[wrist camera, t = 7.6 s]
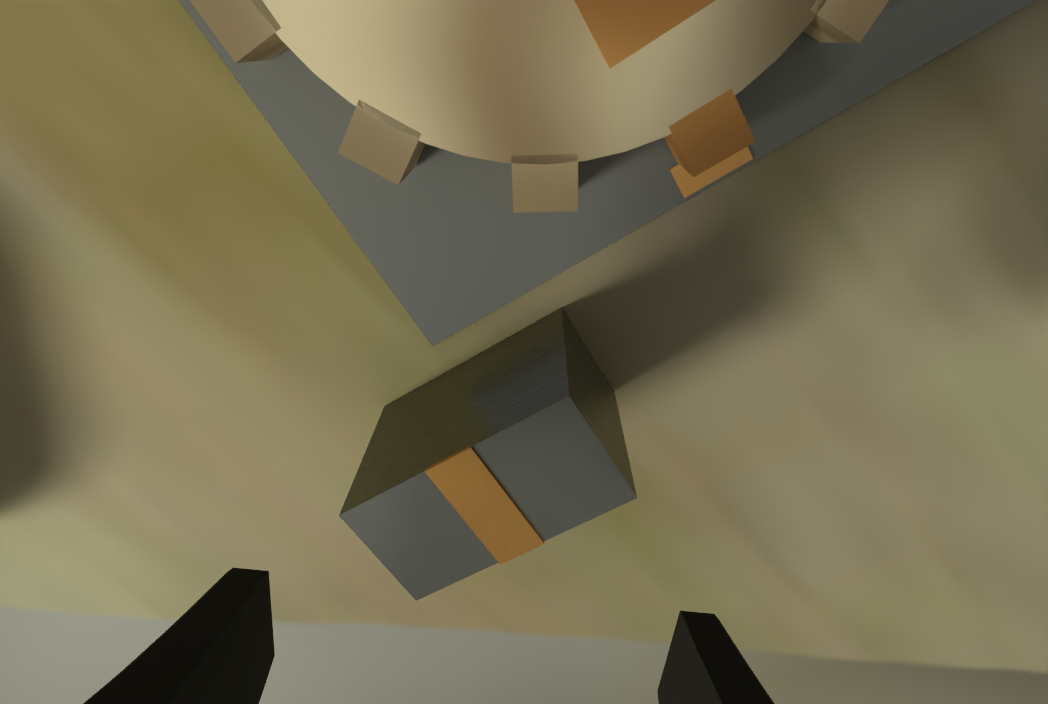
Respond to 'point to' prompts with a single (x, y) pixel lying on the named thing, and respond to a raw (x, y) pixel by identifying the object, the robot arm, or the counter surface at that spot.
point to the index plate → (603, 183)
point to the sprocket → (535, 75)
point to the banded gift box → (491, 459)
